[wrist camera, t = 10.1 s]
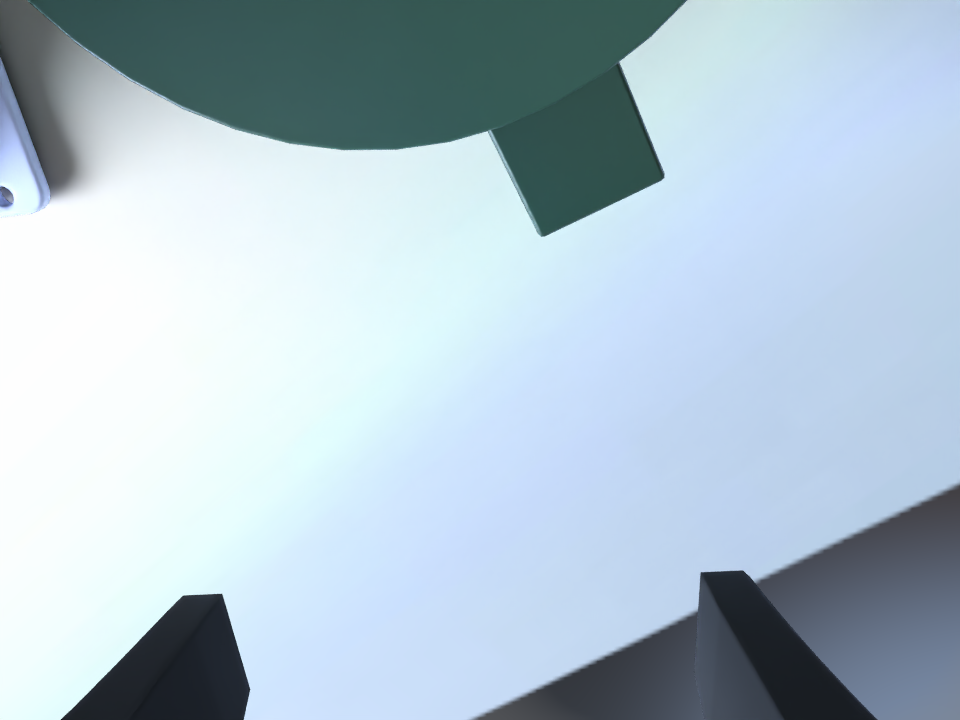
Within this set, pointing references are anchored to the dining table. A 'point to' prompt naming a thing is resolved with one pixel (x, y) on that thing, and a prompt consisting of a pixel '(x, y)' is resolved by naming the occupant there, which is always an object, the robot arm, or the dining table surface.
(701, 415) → the dining table surface
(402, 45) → the lid
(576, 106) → the pot
